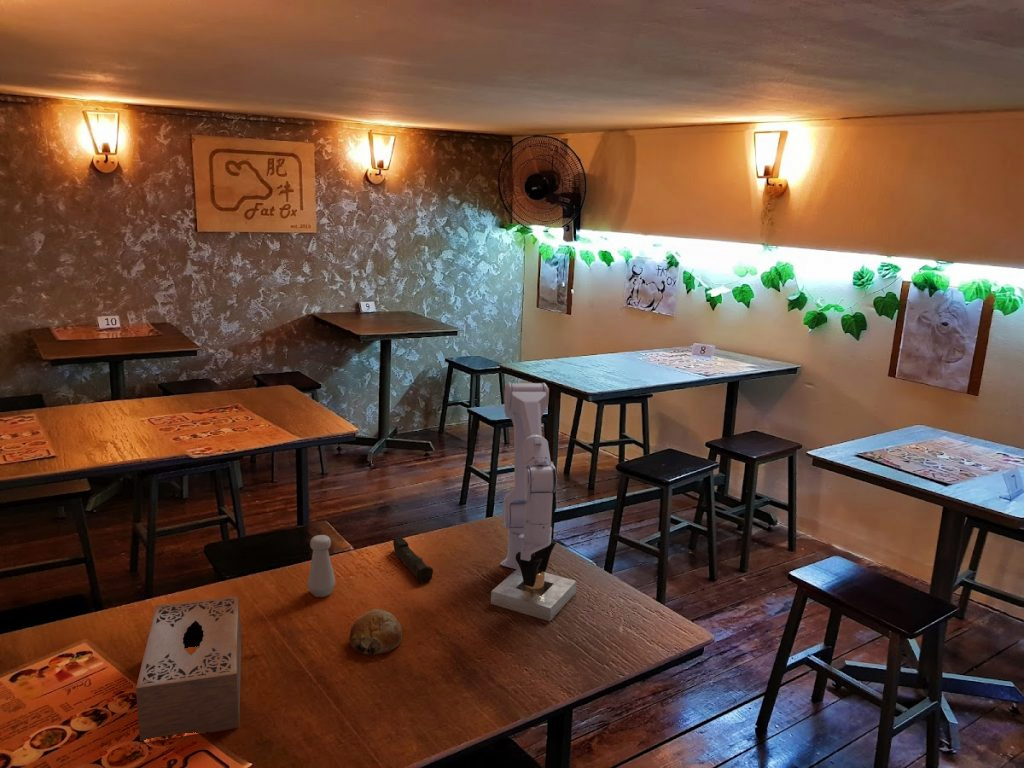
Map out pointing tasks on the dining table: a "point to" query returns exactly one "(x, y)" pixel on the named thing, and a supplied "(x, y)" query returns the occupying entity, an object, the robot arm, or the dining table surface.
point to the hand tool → (412, 560)
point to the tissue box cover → (191, 669)
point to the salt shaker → (321, 567)
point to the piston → (537, 584)
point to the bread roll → (375, 632)
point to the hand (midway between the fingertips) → (535, 577)
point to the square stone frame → (534, 595)
